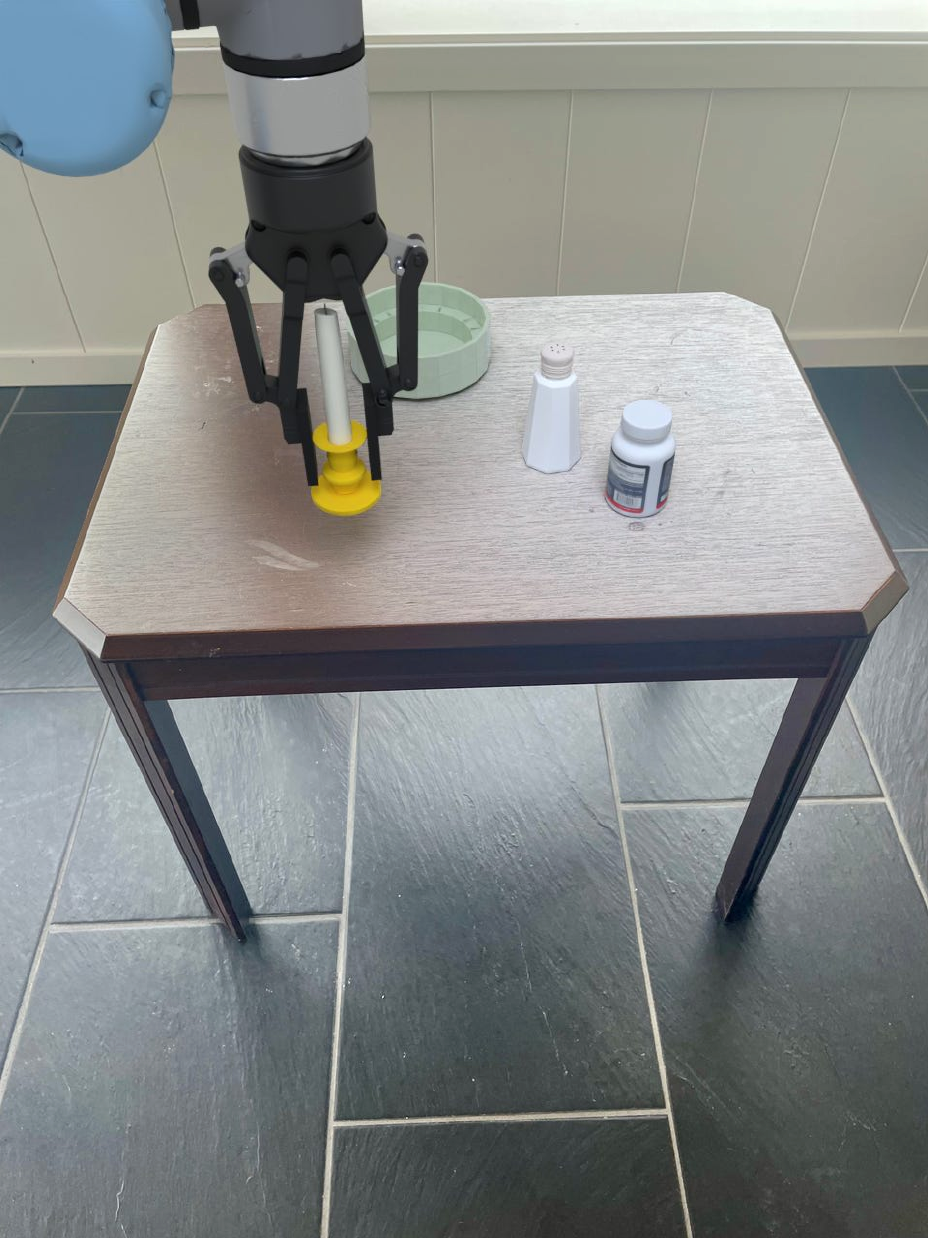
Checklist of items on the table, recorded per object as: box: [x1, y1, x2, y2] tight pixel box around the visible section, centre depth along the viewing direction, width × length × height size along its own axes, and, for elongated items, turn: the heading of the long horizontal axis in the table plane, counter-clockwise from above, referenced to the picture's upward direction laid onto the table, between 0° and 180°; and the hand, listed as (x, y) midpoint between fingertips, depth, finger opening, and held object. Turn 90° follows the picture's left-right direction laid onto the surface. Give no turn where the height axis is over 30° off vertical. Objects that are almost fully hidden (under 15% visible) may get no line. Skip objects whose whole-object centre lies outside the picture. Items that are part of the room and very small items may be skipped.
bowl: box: [345, 281, 492, 400], centre depth 96 cm, size 14×14×5 cm
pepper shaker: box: [520, 340, 582, 475], centre depth 83 cm, size 5×5×11 cm
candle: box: [310, 302, 382, 517], centre depth 67 cm, size 5×5×16 cm
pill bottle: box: [605, 399, 677, 518], centre depth 80 cm, size 5×5×9 cm
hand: (344, 470), depth 71 cm, fingers closed on candle, 4 cm apart
